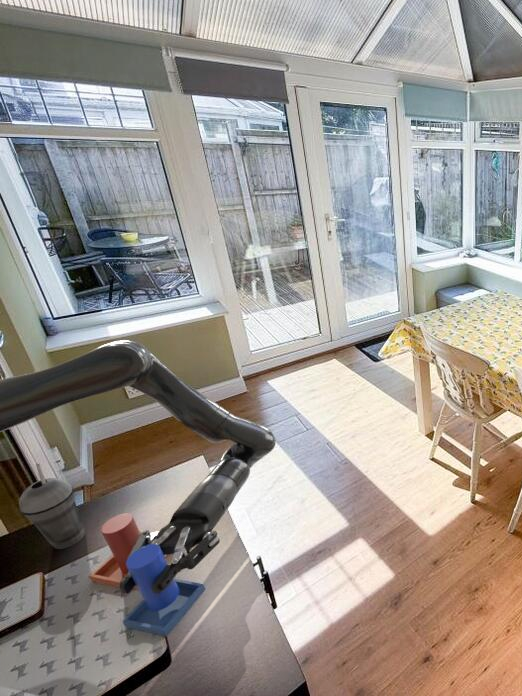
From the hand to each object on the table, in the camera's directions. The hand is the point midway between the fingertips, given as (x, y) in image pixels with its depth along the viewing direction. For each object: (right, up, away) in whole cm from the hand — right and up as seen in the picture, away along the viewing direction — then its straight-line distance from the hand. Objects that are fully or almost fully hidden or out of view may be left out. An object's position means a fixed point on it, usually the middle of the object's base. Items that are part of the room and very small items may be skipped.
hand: (139, 590), depth 67 cm
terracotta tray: (-12, -4, +13) cm, 18 cm away
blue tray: (0, -8, +6) cm, 10 cm away
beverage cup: (-30, -2, +17) cm, 35 cm away
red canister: (-12, -4, +13) cm, 18 cm away
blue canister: (0, -5, +5) cm, 7 cm away
